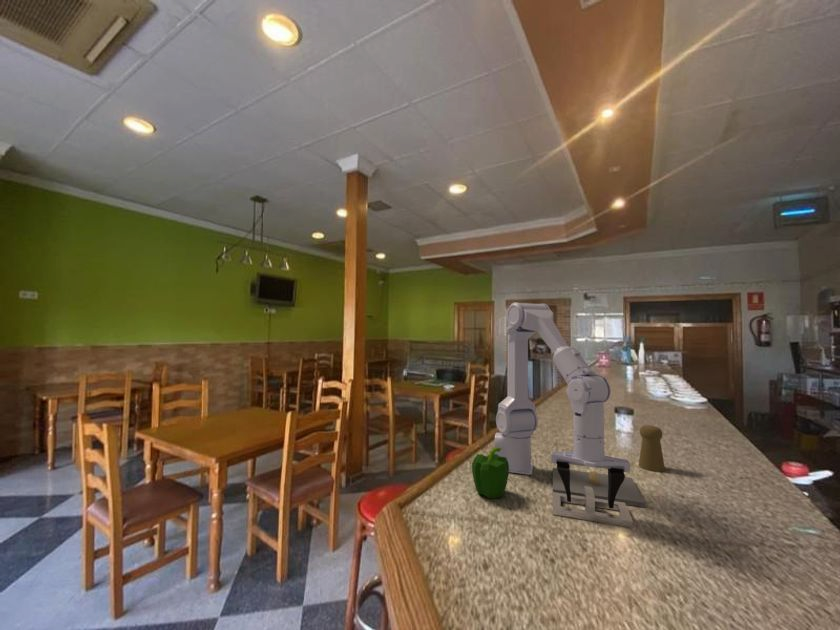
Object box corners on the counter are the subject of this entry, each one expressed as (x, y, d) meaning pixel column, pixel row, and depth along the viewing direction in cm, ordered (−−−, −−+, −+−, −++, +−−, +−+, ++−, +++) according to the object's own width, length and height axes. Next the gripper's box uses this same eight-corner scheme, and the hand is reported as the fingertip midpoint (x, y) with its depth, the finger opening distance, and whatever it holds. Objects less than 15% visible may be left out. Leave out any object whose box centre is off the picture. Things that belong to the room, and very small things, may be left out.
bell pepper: (478, 503, 78) (478, 455, 78) (467, 487, 86) (467, 443, 86) (516, 501, 79) (516, 453, 79) (501, 485, 87) (501, 442, 87)
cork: (669, 472, 96) (668, 429, 96) (643, 470, 97) (642, 428, 98) (659, 464, 102) (658, 424, 102) (635, 462, 103) (634, 422, 103)
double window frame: (552, 514, 73) (552, 493, 73) (552, 497, 81) (552, 479, 81) (632, 527, 68) (632, 505, 69) (625, 508, 76) (624, 488, 76)
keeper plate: (552, 493, 83) (552, 478, 83) (552, 471, 96) (552, 458, 96) (645, 507, 76) (644, 491, 77) (631, 481, 90) (631, 468, 90)
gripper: (550, 436, 74) (551, 505, 73) (633, 444, 69) (634, 518, 68) (551, 427, 81) (551, 491, 80) (626, 434, 76) (627, 502, 75)
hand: (589, 502), depth 75 cm, fingers open, 7 cm apart
